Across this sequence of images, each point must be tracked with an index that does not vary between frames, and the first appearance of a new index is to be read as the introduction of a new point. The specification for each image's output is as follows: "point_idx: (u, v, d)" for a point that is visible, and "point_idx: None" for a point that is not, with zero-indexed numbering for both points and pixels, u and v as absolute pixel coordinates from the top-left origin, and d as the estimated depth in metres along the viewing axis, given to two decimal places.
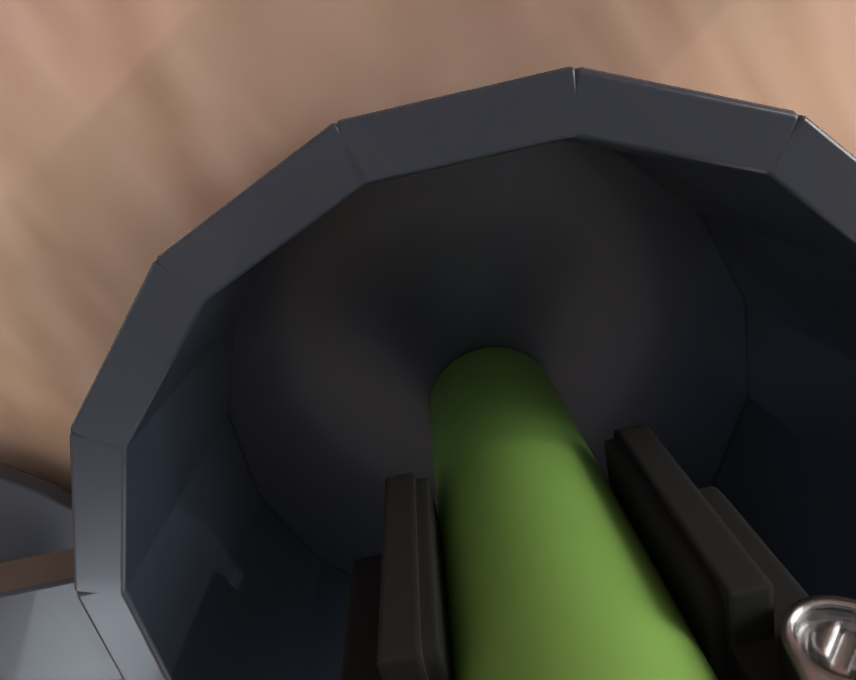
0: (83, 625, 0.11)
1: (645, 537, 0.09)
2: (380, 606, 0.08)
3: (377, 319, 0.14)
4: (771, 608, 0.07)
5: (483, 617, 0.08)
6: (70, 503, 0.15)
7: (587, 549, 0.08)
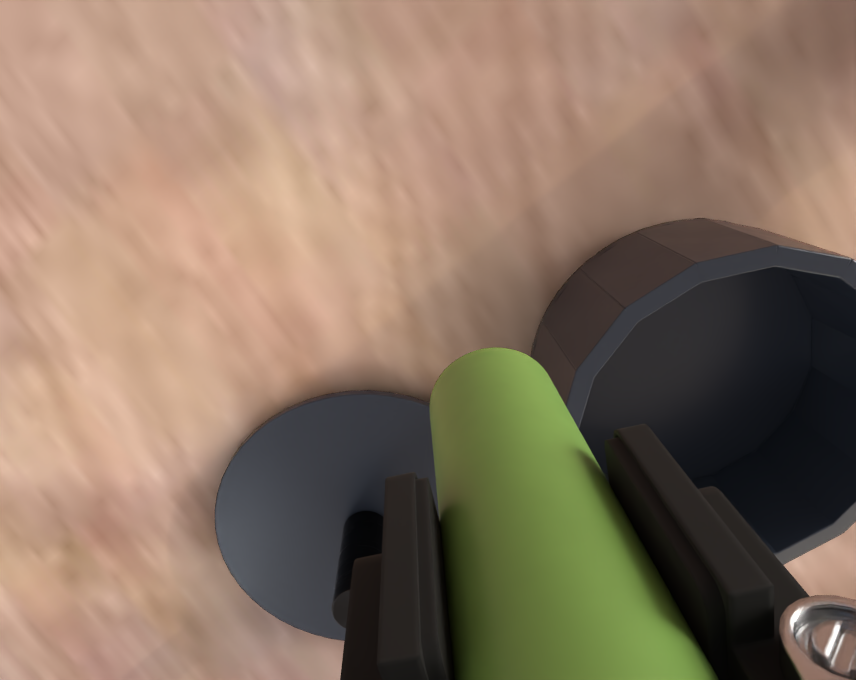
0: None
1: (645, 537, 0.09)
2: (380, 606, 0.08)
3: None
4: (771, 608, 0.07)
5: (483, 619, 0.07)
6: None
7: (588, 550, 0.08)
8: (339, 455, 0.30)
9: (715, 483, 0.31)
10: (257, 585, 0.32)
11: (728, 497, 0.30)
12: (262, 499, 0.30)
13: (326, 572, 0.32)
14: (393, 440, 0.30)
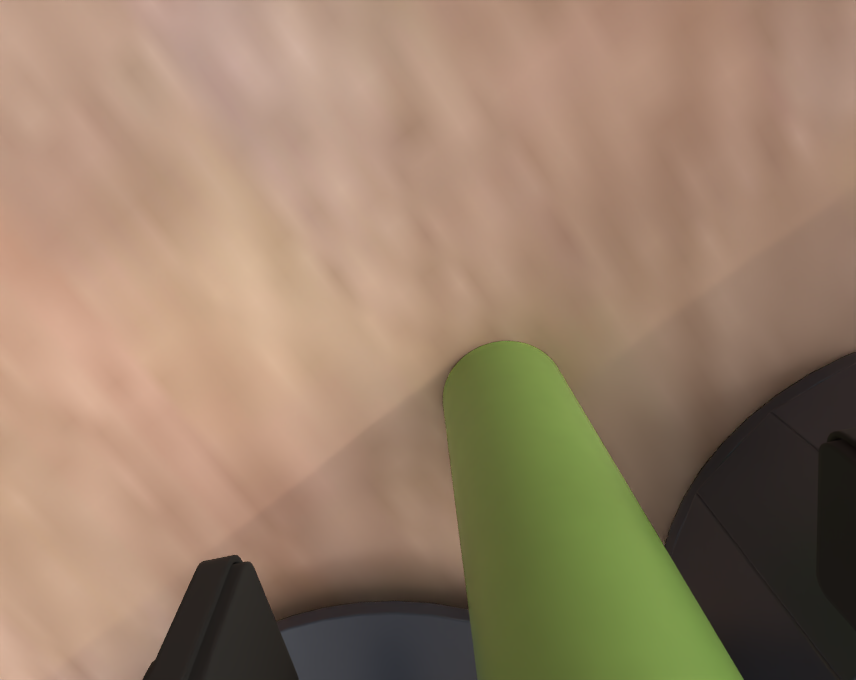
0: None
1: None
2: None
3: None
4: None
5: (502, 587, 0.08)
6: None
7: (599, 525, 0.08)
8: None
9: None
10: None
11: None
12: None
13: None
14: (436, 679, 0.18)
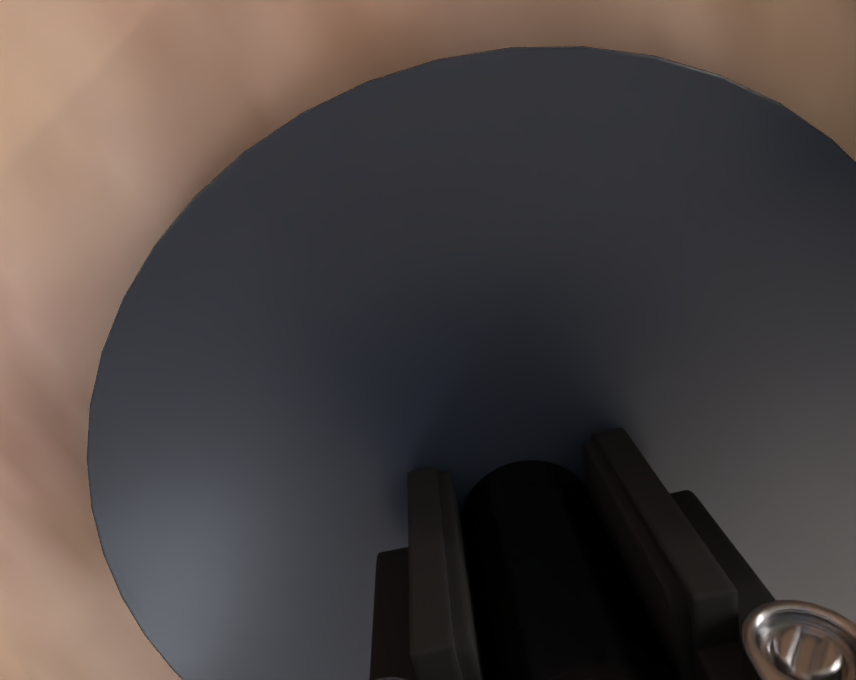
0: None
1: (619, 541, 0.09)
2: (410, 598, 0.08)
3: None
4: (735, 613, 0.07)
5: None
6: None
7: None
8: (468, 279, 0.09)
9: None
10: (219, 667, 0.12)
11: None
12: (228, 424, 0.10)
13: None
14: (643, 229, 0.09)
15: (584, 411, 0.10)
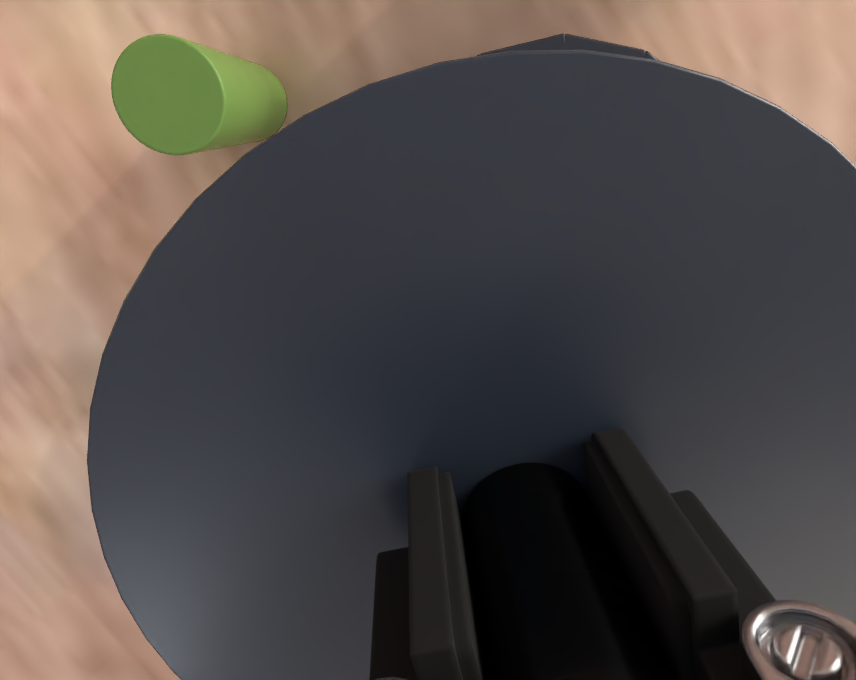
0: None
1: (619, 541, 0.09)
2: (410, 598, 0.08)
3: None
4: (736, 612, 0.07)
5: None
6: None
7: None
8: (468, 282, 0.09)
9: None
10: (219, 668, 0.12)
11: None
12: (228, 426, 0.10)
13: None
14: (642, 233, 0.09)
15: (584, 413, 0.10)
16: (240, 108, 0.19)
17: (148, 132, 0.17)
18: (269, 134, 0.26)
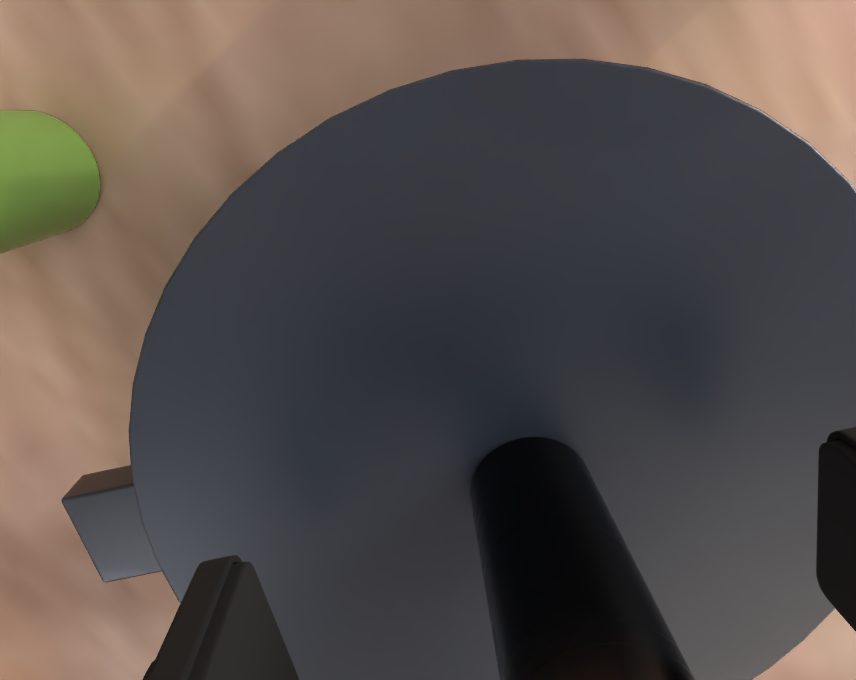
0: None
1: None
2: None
3: None
4: None
5: None
6: (833, 168, 0.10)
7: None
8: (477, 269, 0.10)
9: None
10: None
11: None
12: (257, 401, 0.11)
13: (417, 598, 0.13)
14: (636, 224, 0.10)
15: (583, 391, 0.11)
16: None
17: None
18: (61, 229, 0.16)
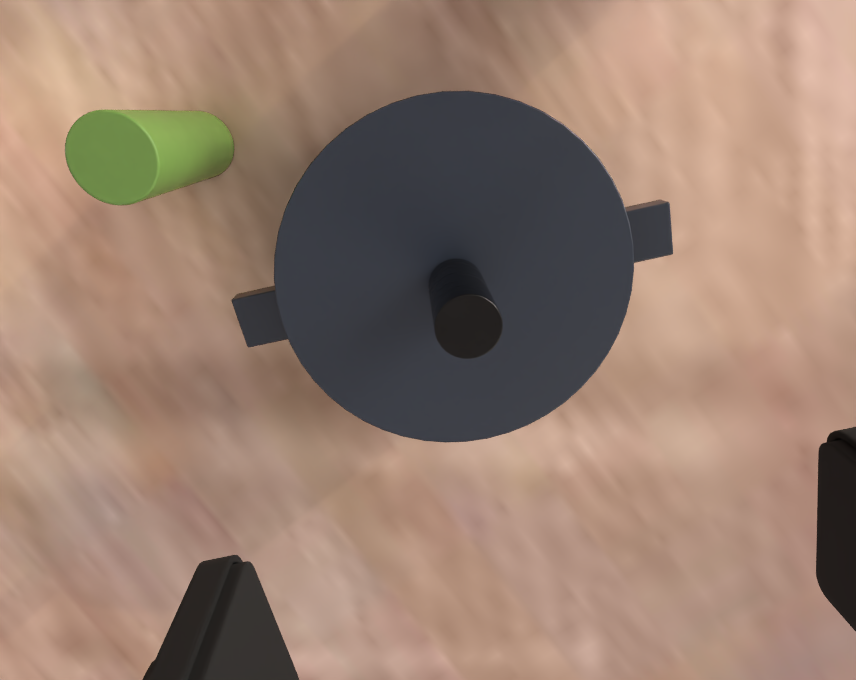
0: None
1: None
2: None
3: None
4: None
5: None
6: (576, 135, 0.24)
7: (140, 110, 0.23)
8: (428, 179, 0.24)
9: None
10: (321, 361, 0.27)
11: None
12: (332, 240, 0.25)
13: (404, 345, 0.27)
14: (495, 159, 0.24)
15: (477, 236, 0.25)
16: (176, 164, 0.23)
17: (96, 187, 0.21)
18: (217, 173, 0.29)
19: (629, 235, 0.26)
